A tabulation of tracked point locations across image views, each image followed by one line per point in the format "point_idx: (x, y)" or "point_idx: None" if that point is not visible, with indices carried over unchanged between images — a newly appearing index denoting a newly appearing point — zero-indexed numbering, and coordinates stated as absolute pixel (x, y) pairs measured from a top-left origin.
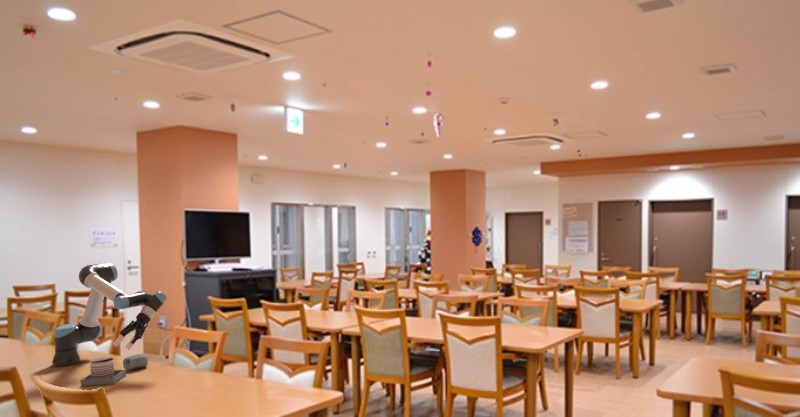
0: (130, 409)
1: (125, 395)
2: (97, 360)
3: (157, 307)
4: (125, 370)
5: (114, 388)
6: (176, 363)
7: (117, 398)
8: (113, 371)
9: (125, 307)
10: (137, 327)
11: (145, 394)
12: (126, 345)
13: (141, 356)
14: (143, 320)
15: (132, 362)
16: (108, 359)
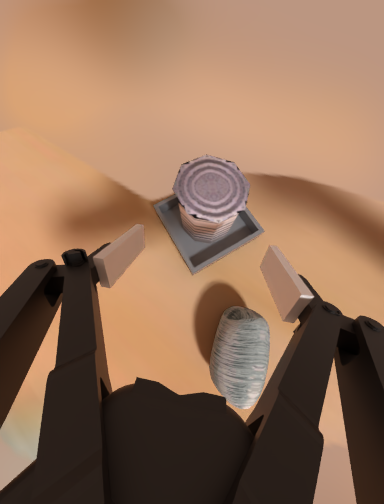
0: (4, 134)
1: (68, 175)
2: (207, 169)
3: None
4: (191, 271)
5: (129, 196)
6: None
7: (70, 160)
8: (191, 231)
9: None
10: (51, 371)
11: (30, 192)
12: (138, 228)
13: (222, 370)
14: None
15: (221, 322)
16: (222, 222)
